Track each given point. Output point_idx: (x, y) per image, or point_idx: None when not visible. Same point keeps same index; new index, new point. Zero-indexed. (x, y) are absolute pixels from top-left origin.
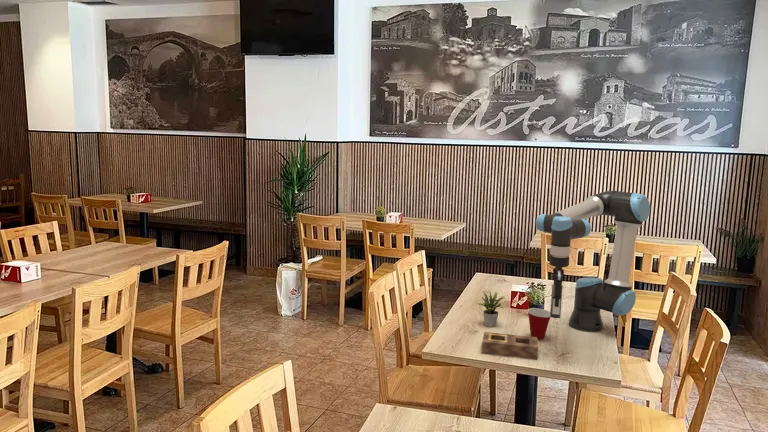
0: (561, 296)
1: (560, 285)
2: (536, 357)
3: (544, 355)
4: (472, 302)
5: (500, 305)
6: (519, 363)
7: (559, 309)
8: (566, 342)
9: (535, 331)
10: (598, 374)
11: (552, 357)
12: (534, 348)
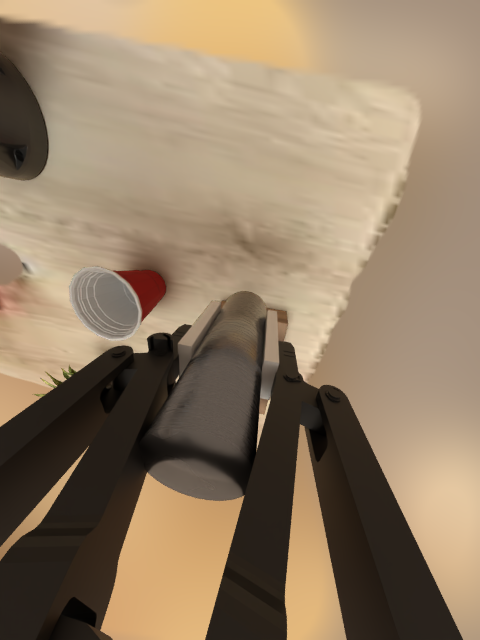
0: (243, 355)
1: (432, 608)
2: (286, 314)
3: (259, 290)
4: (24, 368)
5: (75, 372)
6: (308, 347)
7: (277, 324)
8: (159, 215)
9: (158, 300)
10: (389, 159)
11: (269, 274)
12: (285, 329)
